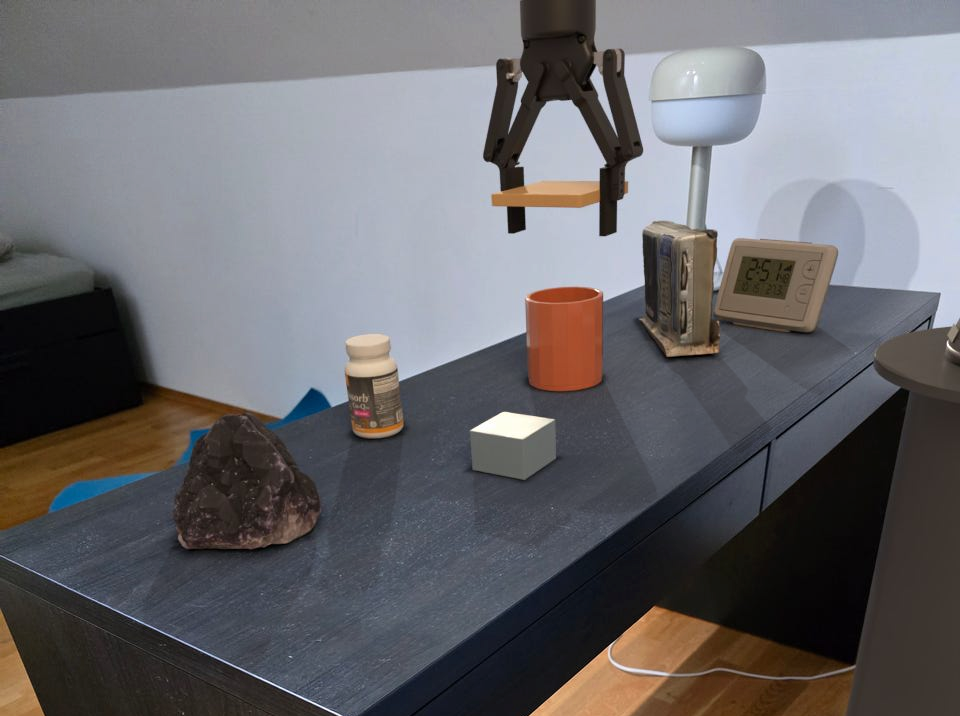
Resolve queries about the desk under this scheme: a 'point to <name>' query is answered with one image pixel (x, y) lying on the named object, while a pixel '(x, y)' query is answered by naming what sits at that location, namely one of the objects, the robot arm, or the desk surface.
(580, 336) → the cup
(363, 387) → the pill bottle
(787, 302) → the digital clock
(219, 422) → the crystal cluster
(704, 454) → the desk surface
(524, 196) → the mat
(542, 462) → the stand
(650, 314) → the radio
